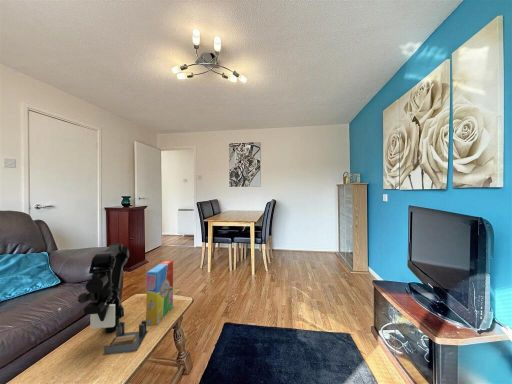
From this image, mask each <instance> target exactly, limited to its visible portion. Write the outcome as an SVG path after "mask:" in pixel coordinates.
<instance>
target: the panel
mask: <svg viewBox="0 0 512 384" xmlns="http://www.w3.org/2000/svg"><path fill="white" fill-rule="evenodd" d="M89 315H90V321H89V323H90V328H89V329H90V330H94V329H95V330H96V329H105V328H107V327H114V326H115V304H110V305H109V308H108V310H107V313H106V316H105V319H104V321H100V319H99V316H98V314H89Z"/></svg>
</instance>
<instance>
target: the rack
mask: <svg viewBox="0 0 512 384" xmlns="http://www.w3.org/2000/svg"><path fill="white" fill-rule="evenodd" d="M125 323H126V322H125V321H121V322H120V321H119V326H117V327H116V331H115V337H114V338H113V340H112V342H111V343H110V344H109V345H104V346H103V353H102V355H103V356H104V355H112V354H123V353H132V352H134V353H135V352H137V351H139V348H140V347H141V345H142V343H143V341H144V340H145V337H146V336H147V333H148V332H149V330H147V327H148V326H147V320H145V319H144V320H141V322H140V324H139V325H138V331H132V332H131V331H129V332H125V330H126V329H125V327H126V326H125ZM129 335H135V339H136V343H132V344H121V345H111V344H112V343H113V342H114V340H115V339H116V337H121V336H129Z"/></svg>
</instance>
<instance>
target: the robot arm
mask: <svg viewBox="0 0 512 384" xmlns="http://www.w3.org/2000/svg"><path fill="white" fill-rule="evenodd" d="M129 257H130V250H129V248H128V247H127V246H124V244H123V243H121V242H120V243H117V242H116V243H112V244H110V245H109V247H108V248H106V249H105V251H103V252H99V253H96V254H95V255H94V256H93V257H92V259H91V264H90V265H89V266H90V267H89V270H88V274H90V275H91V274H92V275H91V278H90V279H89V280H88V281H86V284H85V289H86V291H85V292H83V293H81V294H79V295H78V297H77V302H78V303H79V304H82V305H84V304H85V303H86V302H89V301H90V302H89V303H88V304H87V305H86V306H84V308H83V309H82V315H84V316H85V315H90V314H98V316H99V319H100V321H104V319H105V316H106V313H107V310H108V308H109V305H110V304H115V326H114V327H107V328H104V329H105V330H104V331H105V334H113V333H114V332H116V327H117V326H119V323H120V319H122V318H123V317H125V309H124V306H123V304H122V301H121V299H120V294H121V283H122V277H123V270H124V266H125V265H126V264H127V263H128V259H129Z"/></svg>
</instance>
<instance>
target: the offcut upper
mask: <svg viewBox="0 0 512 384" xmlns="http://www.w3.org/2000/svg"><path fill="white" fill-rule="evenodd" d="M115 337H116V336H115ZM114 339H115V338H114ZM114 339H113V340H114ZM134 340H135V335H129V336H121V337H116V339H115V340H114V342H113V345H121V344H132V343H133V342H134Z"/></svg>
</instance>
